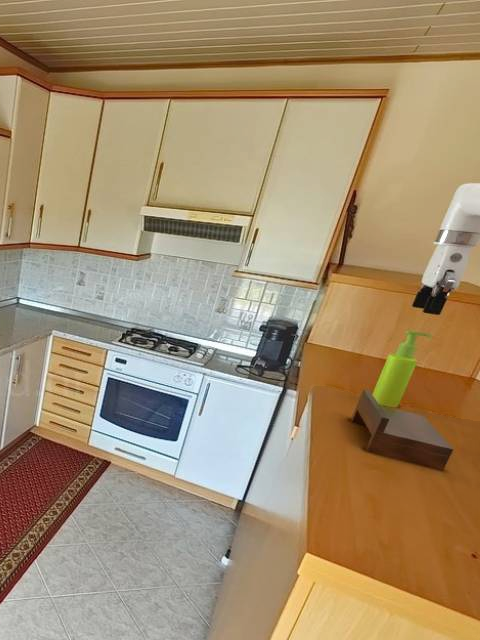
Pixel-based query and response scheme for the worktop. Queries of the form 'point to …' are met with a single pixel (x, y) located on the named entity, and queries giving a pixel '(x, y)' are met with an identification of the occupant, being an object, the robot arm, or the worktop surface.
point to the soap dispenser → (397, 372)
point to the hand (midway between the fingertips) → (425, 310)
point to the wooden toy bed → (401, 434)
